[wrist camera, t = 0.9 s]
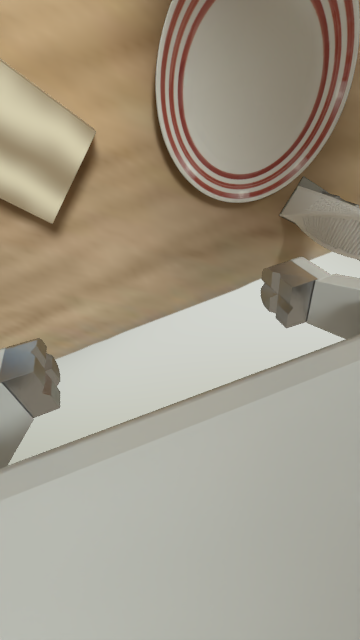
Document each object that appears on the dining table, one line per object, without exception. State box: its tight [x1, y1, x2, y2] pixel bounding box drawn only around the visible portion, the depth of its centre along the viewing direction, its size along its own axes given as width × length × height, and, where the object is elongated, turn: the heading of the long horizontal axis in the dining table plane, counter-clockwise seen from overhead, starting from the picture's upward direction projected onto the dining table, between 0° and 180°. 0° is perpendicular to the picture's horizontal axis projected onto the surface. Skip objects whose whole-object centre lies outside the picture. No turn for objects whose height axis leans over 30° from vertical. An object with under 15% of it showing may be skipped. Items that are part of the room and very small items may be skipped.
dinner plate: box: [155, 0, 360, 203], centre depth 37 cm, size 28×27×3 cm
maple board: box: [0, 59, 96, 224], centre depth 32 cm, size 12×14×5 cm
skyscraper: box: [279, 176, 360, 261], centre depth 41 cm, size 8×8×28 cm
